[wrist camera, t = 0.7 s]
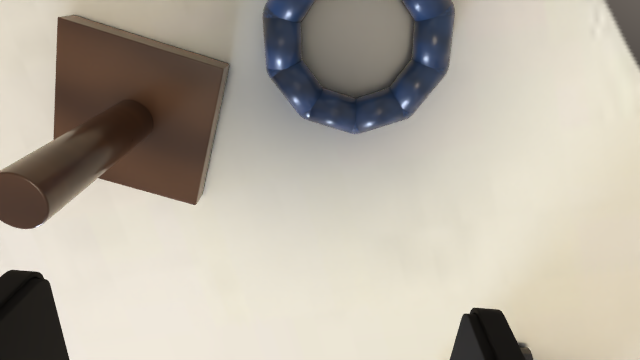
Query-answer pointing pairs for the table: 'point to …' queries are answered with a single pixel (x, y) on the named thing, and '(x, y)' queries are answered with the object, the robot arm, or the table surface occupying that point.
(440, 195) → the table surface
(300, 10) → the ring
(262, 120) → the table surface
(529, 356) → the coffee press
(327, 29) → the table surface
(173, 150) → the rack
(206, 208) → the table surface
